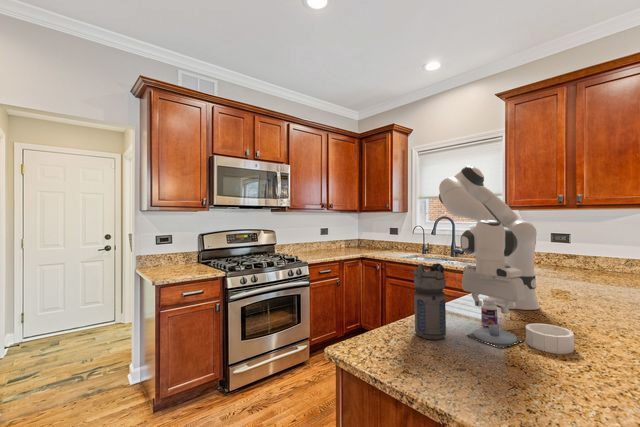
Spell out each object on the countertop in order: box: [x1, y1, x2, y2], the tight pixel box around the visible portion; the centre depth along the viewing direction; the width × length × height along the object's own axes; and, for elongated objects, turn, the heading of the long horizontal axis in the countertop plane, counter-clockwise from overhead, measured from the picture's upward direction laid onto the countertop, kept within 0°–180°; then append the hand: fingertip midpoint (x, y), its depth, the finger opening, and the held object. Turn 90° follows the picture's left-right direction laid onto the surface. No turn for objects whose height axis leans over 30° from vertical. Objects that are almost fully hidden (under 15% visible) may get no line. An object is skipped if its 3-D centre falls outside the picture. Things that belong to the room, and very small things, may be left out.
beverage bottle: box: [413, 262, 447, 341], centre depth 109 cm, size 10×13×25 cm
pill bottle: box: [480, 297, 499, 328], centre depth 118 cm, size 5×5×10 cm
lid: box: [473, 324, 518, 345], centre depth 105 cm, size 13×13×4 cm
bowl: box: [525, 322, 575, 355], centre depth 98 cm, size 12×12×5 cm
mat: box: [466, 332, 525, 349], centre depth 105 cm, size 12×12×1 cm
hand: (491, 309), depth 105 cm, fingers open, 8 cm apart
